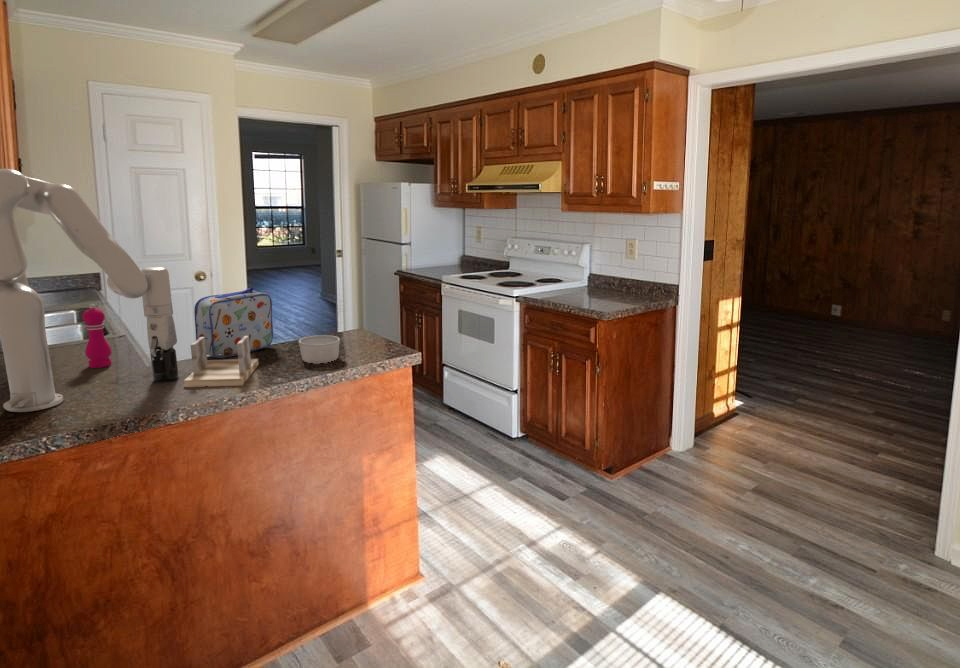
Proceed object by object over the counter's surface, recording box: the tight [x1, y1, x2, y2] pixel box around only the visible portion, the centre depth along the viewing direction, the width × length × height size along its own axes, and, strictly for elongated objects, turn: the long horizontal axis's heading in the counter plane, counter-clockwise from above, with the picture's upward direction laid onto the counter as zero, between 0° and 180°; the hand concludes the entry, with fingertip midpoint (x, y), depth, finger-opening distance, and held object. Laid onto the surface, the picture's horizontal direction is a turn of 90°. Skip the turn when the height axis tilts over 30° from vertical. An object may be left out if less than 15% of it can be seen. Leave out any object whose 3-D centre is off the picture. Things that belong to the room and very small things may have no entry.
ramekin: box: [298, 334, 341, 365], centre depth 211 cm, size 13×13×7 cm
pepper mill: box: [82, 303, 113, 369], centre depth 202 cm, size 7×7×20 cm
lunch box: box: [193, 287, 274, 359], centre depth 218 cm, size 28×10×22 cm, turn 149°
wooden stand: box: [183, 336, 260, 388], centre depth 193 cm, size 22×16×11 cm
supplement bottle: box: [150, 347, 179, 383], centre depth 189 cm, size 7×7×12 cm
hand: (165, 368), depth 189 cm, fingers closed on supplement bottle, 6 cm apart
